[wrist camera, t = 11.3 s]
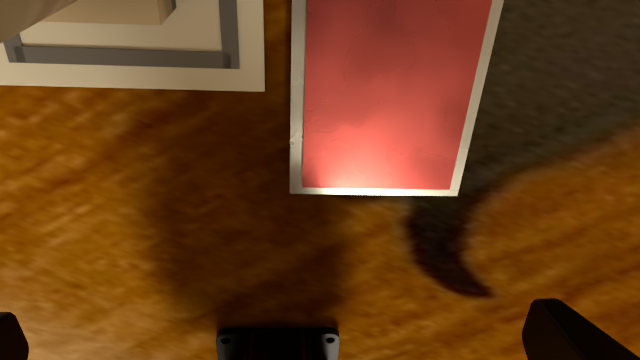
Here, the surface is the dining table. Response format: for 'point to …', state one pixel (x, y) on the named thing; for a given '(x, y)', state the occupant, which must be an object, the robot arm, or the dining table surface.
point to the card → (146, 51)
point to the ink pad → (386, 93)
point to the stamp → (80, 13)
